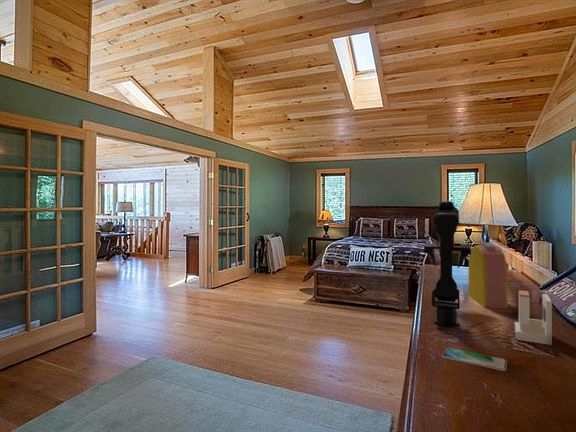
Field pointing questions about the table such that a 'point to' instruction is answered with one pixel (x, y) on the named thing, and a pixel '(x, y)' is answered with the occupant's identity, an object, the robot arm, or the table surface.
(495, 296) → the yellow tall block
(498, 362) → the smartphone
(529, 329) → the cream l-shaped bracket
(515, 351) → the table surface
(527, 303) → the off-white rectangular block
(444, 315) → the robot arm
